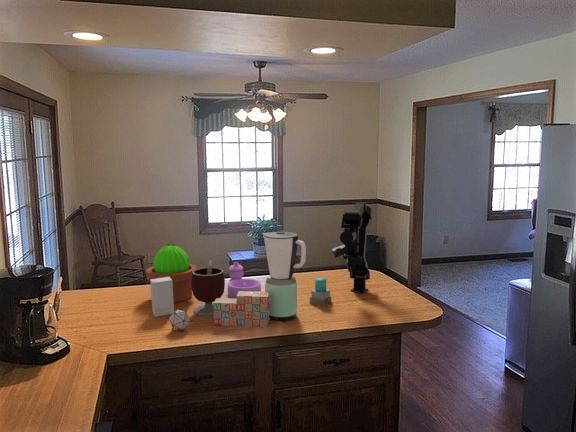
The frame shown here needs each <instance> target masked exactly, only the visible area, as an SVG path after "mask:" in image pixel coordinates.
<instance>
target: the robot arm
mask: <svg viewBox="0 0 576 432" xmlns="http://www.w3.org/2000/svg"><path fill="white" fill-rule="evenodd" d="M373 215H374V214H373V209H372V208H371V207H369V205H368V204H367V203H366V202H358V201H357V202H355V205H354V206H353V208H351V210H345V212H344V213H343V215H342V219H341V224H340V228H341V229H343V231H342V232H341V233H340V234H339V235H340V236H339V240H340V242H341V244H342V245H339V246H337V247H333V248H332V249H331V250H332V254H333V256H334V258H339V257H340V256H342V257H343V259H345V263H346V267H347V272H348V273H349V278H350V279H353V288H352V289H350V292H356V293H361V294H364V293H366V292H367V291H369V288H366V286H367V285H366V284H367V283H366V282H367V281H368V280H371V274H370V273H371V272H370V269H369V267H368V265H369V264H368V262H367V260H366V247H367V234H368V228H369V227H370V225H371V223H372V220H373V218H374V217H373Z"/></svg>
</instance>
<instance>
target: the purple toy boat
mask: <svg viewBox="0 0 576 432" xmlns="http://www.w3.org/2000/svg"><path fill="white" fill-rule="evenodd" d="M228 268H229V269H228V270H229V272H228V276H229V278H230V279H229V281H228V282H227V298H231V299H236V296H237V294H238V292H239V291H246V292H247V291H248V292H254V291H258V292H262V283H261V281H260V280H257V279H254V278H242V277H244V276H245V275H244V274H245V273H244V267H243V266H242V265H241V264H239V262H238V261H234V262H233V264H231V265H230V266H229V267H228Z"/></svg>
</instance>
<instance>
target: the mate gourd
mask: <svg viewBox="0 0 576 432" xmlns="http://www.w3.org/2000/svg"><path fill="white" fill-rule="evenodd" d="M225 281H226V279H225V274H224V270H223V269H222V268H219V267H213V260H212V259H210V260H209V262H208V265H207V267H200V268H197V269H196V270H194V271H193V272H192V279H191V287H192V296H193V297H194V298H195V299H196V301H199V302H202V303H204V304H202V305H198V306H196V307H195V308H193V312H194V314H196V315H199V316H214V310H213V303H214V301H215V300H216V298H222V297H223V295H224V292H225V285H226V282H225Z"/></svg>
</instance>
